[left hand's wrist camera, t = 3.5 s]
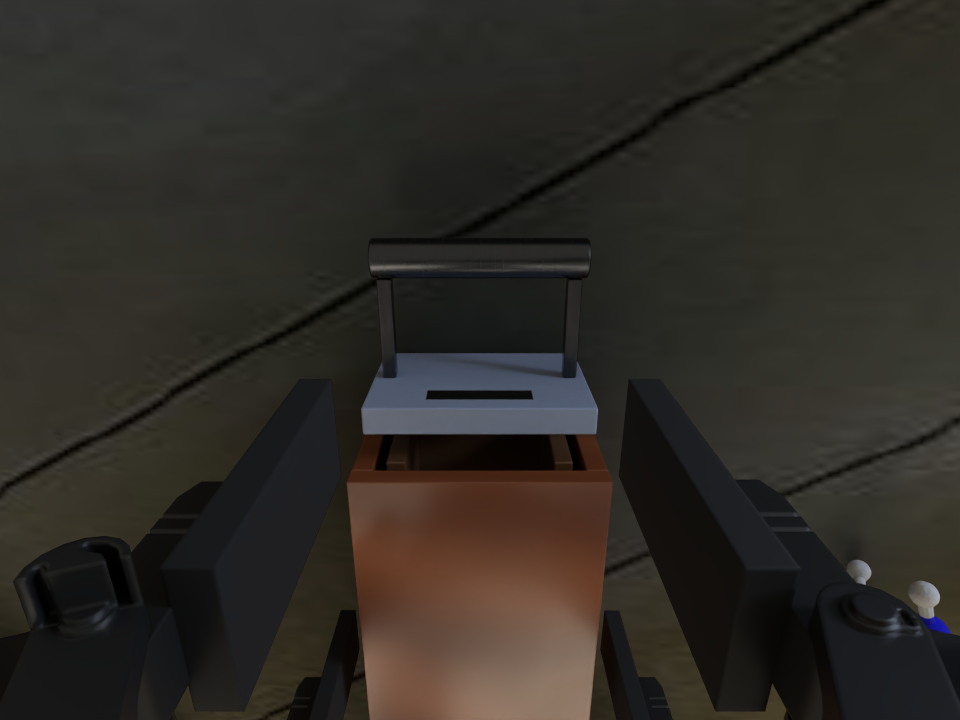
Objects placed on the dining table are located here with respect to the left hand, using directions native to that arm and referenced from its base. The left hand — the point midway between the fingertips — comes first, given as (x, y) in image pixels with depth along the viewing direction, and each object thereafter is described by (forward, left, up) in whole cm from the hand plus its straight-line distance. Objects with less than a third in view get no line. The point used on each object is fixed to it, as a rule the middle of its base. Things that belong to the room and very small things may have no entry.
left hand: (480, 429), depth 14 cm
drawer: (-6, +5, -14) cm, 16 cm away
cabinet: (-11, +9, -15) cm, 21 cm away
